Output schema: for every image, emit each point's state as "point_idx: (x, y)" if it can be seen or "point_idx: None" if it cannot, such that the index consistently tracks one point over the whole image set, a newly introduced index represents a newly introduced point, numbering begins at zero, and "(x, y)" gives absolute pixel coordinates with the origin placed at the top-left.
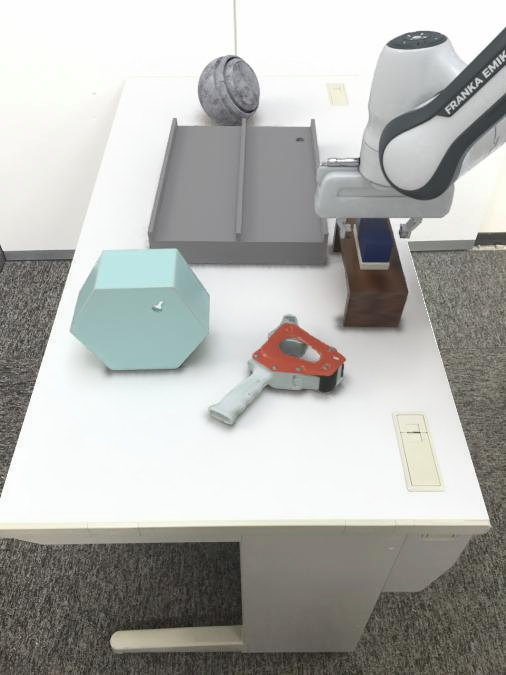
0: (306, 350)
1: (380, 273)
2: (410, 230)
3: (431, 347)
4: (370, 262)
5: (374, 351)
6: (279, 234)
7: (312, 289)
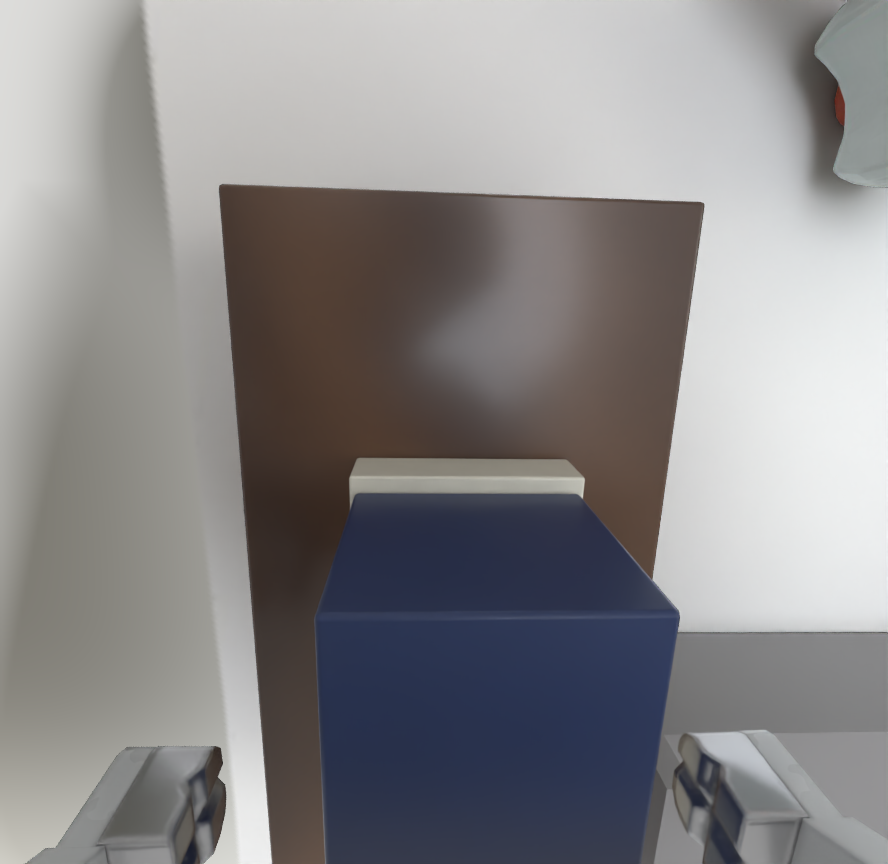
0: (845, 4)
1: (423, 415)
2: (70, 850)
3: (154, 88)
4: (509, 494)
5: (452, 72)
6: (872, 781)
7: (667, 488)
